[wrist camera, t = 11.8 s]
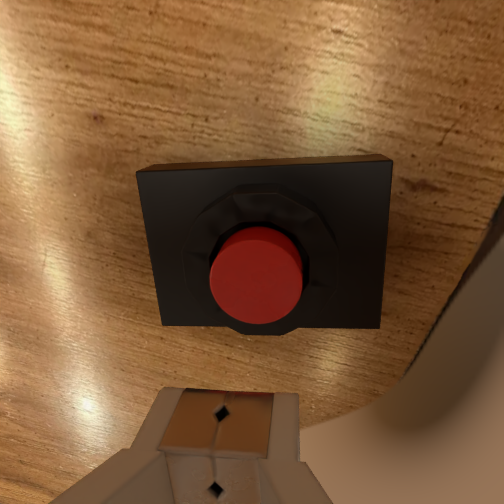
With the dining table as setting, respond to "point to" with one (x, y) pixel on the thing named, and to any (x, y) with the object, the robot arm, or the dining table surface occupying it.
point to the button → (257, 275)
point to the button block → (276, 217)
